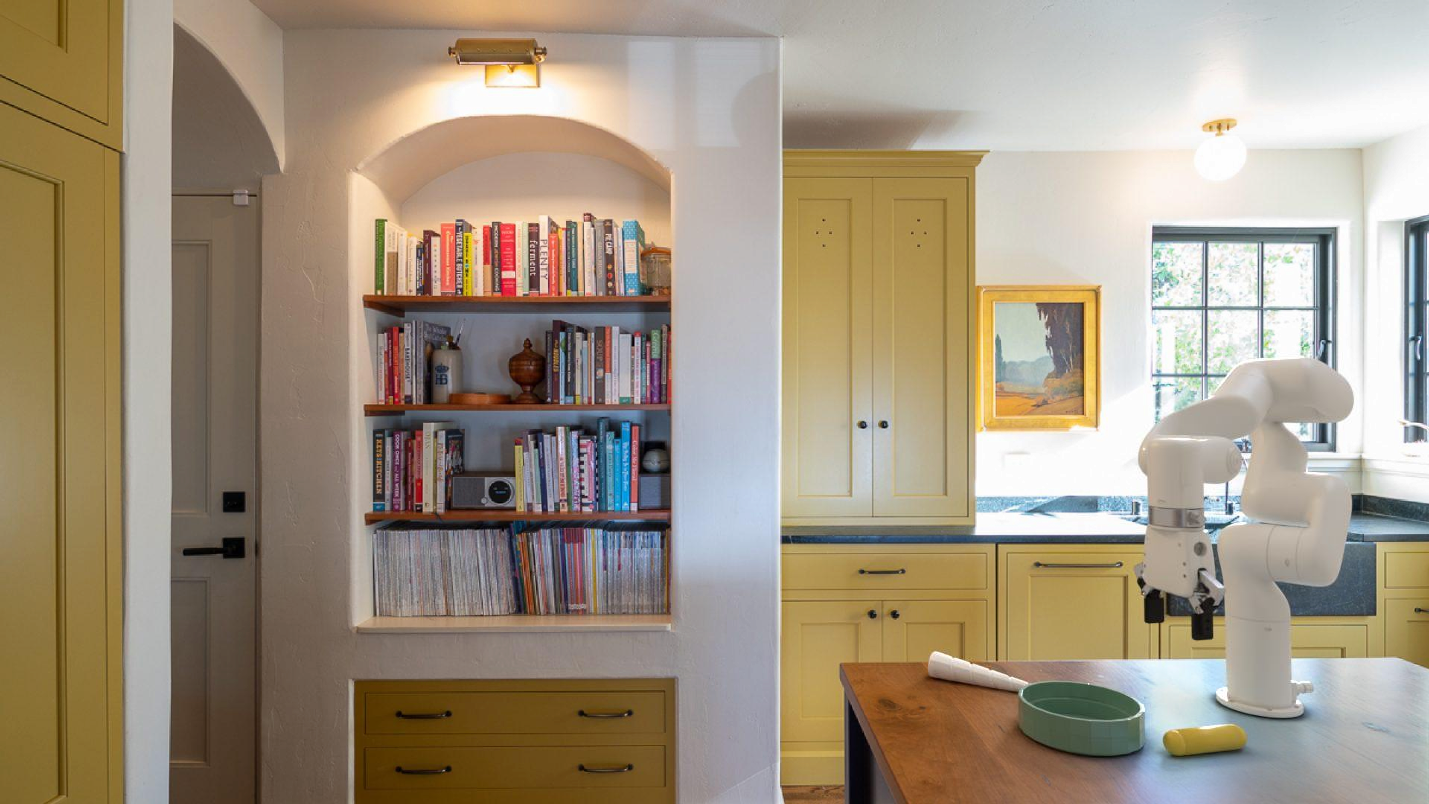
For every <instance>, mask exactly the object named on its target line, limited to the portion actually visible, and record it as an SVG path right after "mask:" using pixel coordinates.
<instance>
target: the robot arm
mask: <svg viewBox="0 0 1429 804" xmlns="http://www.w3.org/2000/svg"><path fill="white" fill-rule="evenodd" d="M1354 404H1355V396H1354V391H1353V388H1352V385H1351V384H1350V382H1349V381H1348V380H1347V378H1345V376H1344V375H1342V374H1341V373H1340V372H1338V371H1336V370H1335V369H1334V368H1332V366H1330V365H1328V364H1327V363H1325V362H1323V361H1321V360H1318V359H1316V358H1313V357H1308V356H1292V357H1291V356H1290V357H1289V356H1288V357H1274V358H1273V357H1271V358H1255V359H1249V360H1245V361H1241V362H1240V363H1238V364H1237V365H1235V366H1234V367H1233V368H1232V369H1231V370H1230V371H1229V373H1228V374H1227V375H1226V376H1225V378H1223V380H1222V381H1221V383H1219V385H1218V386H1217V388H1216V389H1215V390H1214V391H1213V392H1212V393H1211V395H1210V396H1209V397H1207V398H1205V399H1202V400H1200V401H1197V402H1195V403H1192V404H1190V405H1187V406H1184V407H1183V408H1181V409H1178V410H1175V411H1173V412H1171V413H1169V414H1168V415H1167V414H1166V416H1164V417H1163V418H1161V419H1159V420H1158V421H1157V422H1156V423H1155V424H1154V425H1153V426H1152V428H1151V429H1150V430H1149V431H1148V432H1147V433H1146V436H1145V437H1144V438H1143V440H1142V441H1141V443H1140V446H1139V449H1138V452H1137V453H1138V455H1137V462H1138V463H1137V464H1138V466H1139V469H1140V471H1141V472H1142V474H1144V475H1145V477H1146V478H1147V486H1146V487H1147V524H1146V530H1145V536H1144V543H1143V544H1144V545H1143V558H1142V559H1143V560H1142V561H1141V562H1139V563H1138V564H1134V566H1133V571H1134V574H1135V577H1136V584H1137V585H1138V588H1139V589H1140V595H1141V597H1142V598H1143V621H1144V623H1145V624H1148V625H1149V624H1163V623H1164V622H1165V597H1164V596H1161V595H1162V594H1163V593H1164V592H1165V593H1168V594H1171V595H1174V596H1177V597H1178V596H1179V597H1181V598H1187V600H1188V601H1189V603H1190V605H1191V607H1192V609H1193V611H1194V612H1191V613H1190V615H1191V616H1190V623H1191V624H1190V625H1191V626H1190V627H1191V628H1190V629H1191V635H1190V636H1191V639H1192V640H1193V641H1197V642H1199V641H1211V640H1214V614H1216V613H1217V612H1218V608H1219V607H1220V606H1221V605H1222V603H1223V601H1222V600H1223V599H1224V629H1225V630H1224V631H1225V632H1224V635H1225V636H1224V637H1225V683H1226V685H1225V687H1221V688H1219V689H1217V690H1216V692H1215V698H1216V701H1217V702H1218V703H1219V704H1221V705H1223V706H1224V707H1227V708H1228V709H1230V710H1231V709H1232V710H1234V711H1237V712H1240V713H1243V714H1247V715H1253V716H1257V717H1258V716H1259V717H1266V718H1273V719H1274V718H1276V719H1289V718H1291V719H1292V718H1297V717H1300V716H1301V715H1302V714H1304V711H1305V710H1304V709H1305V708H1304V704H1303V703H1302V702H1301V701H1300V700H1298V698H1297V697H1299V696H1300V694H1302V695H1303V694H1312V693H1313V692H1314V691H1315V686H1314V684H1313V683H1312V682H1311V681H1308V680H1307V681H1295V680H1293V676H1292V674H1293V673H1292V671H1293V670H1292V627H1291V626H1292V625H1291V622H1292V621H1291V616H1292V615H1291V607H1290V604H1289V601H1288V599H1287V598H1286V595H1284V593H1283V592H1282V590H1281V589H1280V587H1279V586H1278V585H1277V583H1278V582H1279V583H1287V584H1293V585H1302V586H1309V587H1318V588H1320V587H1321V588H1322V587H1328V586H1330V585H1332V584H1334V582H1336V580H1337V578H1338V577H1339V574H1340V571H1341V566H1342V563H1343V559H1344V553H1345V550H1346V549H1345V548H1346V544H1347V538H1348V533H1349V528H1350V523H1351V518H1352V512H1353V511H1352V510H1353V497H1352V492H1351V490H1350V487H1349V485H1348V483H1347V482H1346V481H1345V480H1344V479H1343V478H1341V477H1340V476H1338V475H1336V474H1332V473H1326V472H1313V471H1307V465H1308V460H1309V452H1308V449H1307V448H1306V447H1305V445H1304V444H1303V442H1302V441H1301V440H1300V439H1299V438H1298V437H1297V436H1296V434H1294V433H1293V432H1292V431H1291V430H1290V429H1288V427H1286V425H1285V424H1335V423H1339V422H1342V421H1344V420H1346V419H1347V418H1348V417H1349V416H1350V415H1351V413H1352V411H1353V409H1354ZM1247 436H1248V437H1249V440H1250V445H1251V453H1250V457H1249V462H1248V466H1247V469H1246V472H1245V476H1244V481H1243V485H1242V489H1241V493H1240V499H1239V500H1240V501H1239V502H1240V503H1239V504H1240V509H1241V512H1242V514H1244V515H1245V517H1247V518H1248V519H1250V520H1252V521H1255V522H1246V521H1245V522H1236V523H1231V524H1229V525H1227V526H1225V527H1224V528H1222V530H1221V531H1220V532H1219V534H1218V536H1217V541H1216V547H1217V548H1216V549H1217V556H1218V560H1219V565H1220V569H1221V574H1222V581H1223V582H1222V583H1223V584H1222V583H1221V582H1220V581H1219V580H1218V579H1217V577H1216V565H1215V558H1214V549H1213V544H1212V540H1211V536H1210V533H1209V530H1207V529H1205V523H1206V521H1207V519H1206V518H1207V517H1206V516H1205V484H1208V485H1211V484H1212V485H1220V484H1225V483H1226V484H1227V483H1229V482H1231V481H1232V480H1234V479H1235V478H1236V477H1237V476H1238V475H1239V474H1240V471H1241V470H1242V466H1243V455H1242V451H1241V449H1240V447H1238V445H1237V443H1235V442H1234V440H1237V439H1241V438H1244V437H1247ZM1199 599H1201V601H1202V602H1200V600H1199Z"/></svg>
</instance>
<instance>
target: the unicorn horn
mask: <svg viewBox="0 0 1429 804" xmlns="http://www.w3.org/2000/svg"><path fill="white" fill-rule="evenodd" d="M927 672H928V675H929V676H930V677H932V678H936V679H941V680H946V681H952V682H953V681H954V682H958V683H964V684H970V685H974V686H981V687H985V688H986V687H987V688H992V689H999V690H1004V691H1010V692H1017V693H1019V689H1021V688H1022V687H1024V686H1025V685H1028V684H1032V683H1029V682H1028V681H1025V680H1022V679H1020V678H1017V677H1014V676H1010V675H1008V674H1005V673H1002V672H999V671H996V670H994V669H989V668H987V667H985V666H981V665H979V664H975V663H972V664H971V662H969V661H966V660H964V659H960V658H957V657H953V656H951V655H948V654H946V653H942V652H940V651H932V652H931V654H930V656H929V658H928V664H927Z"/></svg>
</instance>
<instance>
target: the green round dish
mask: <svg viewBox="0 0 1429 804" xmlns="http://www.w3.org/2000/svg"><path fill="white" fill-rule="evenodd" d="M1017 703H1018V705H1017V707H1018V709H1017V710H1018V711H1017V712H1018V713H1017V714H1018V727H1019V729H1020V730H1021V731H1022V732H1023V734H1025V735H1026V736H1027V737H1029V738H1031V739H1032V740H1034V741H1036V742H1038V743H1040V744H1042V745H1045V746H1047V747H1049V748H1052V749H1054V750H1055V749H1056V750H1058V751H1062V752H1066V753H1071V754H1075V755H1076V754H1077V755H1082V756H1092V757H1115V756H1121V755H1127V754H1131V753H1134V752H1136V751H1139V750H1141V749H1142V748H1143V747H1144V745H1146V721H1145V720H1146V715H1145V713H1146V710H1145V707H1144V704H1143V703H1142V702H1141V701H1140V700H1139V699H1137V698H1136V697H1134V696H1132V695H1130V694H1128V693H1125V692H1123V691H1120V690H1117V689H1114V688H1111V687H1108V686H1104V685H1099V684H1094V683H1088V682H1081V681H1072V680H1045V681H1044V680H1043V681H1036V682H1033V683H1031V684H1030V683H1028V685H1025V686H1024V687H1022V688H1021V689H1019V692H1018V695H1017Z"/></svg>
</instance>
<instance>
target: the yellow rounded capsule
mask: <svg viewBox="0 0 1429 804" xmlns="http://www.w3.org/2000/svg"><path fill="white" fill-rule="evenodd" d="M1247 743H1248V735H1247V733H1246V731H1245V730H1244V729H1243V728H1242V727H1241V726H1239V725H1237V724H1234V723H1225V724H1216V725H1215V724H1214V725H1206V726H1194V727H1185V728H1177V729H1176V728H1175V729H1170V730H1167V731H1166V732H1165V733H1164V734H1163V736H1162V744H1163V747H1164V748H1165V750H1166V752H1168V753H1169V754H1171V755H1173V756H1178V757H1183V756H1191V755H1201V754H1208V753H1217V752H1225V751H1235V750H1237V751H1238V750H1241V749H1243V748H1245V746H1246V745H1247Z"/></svg>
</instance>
